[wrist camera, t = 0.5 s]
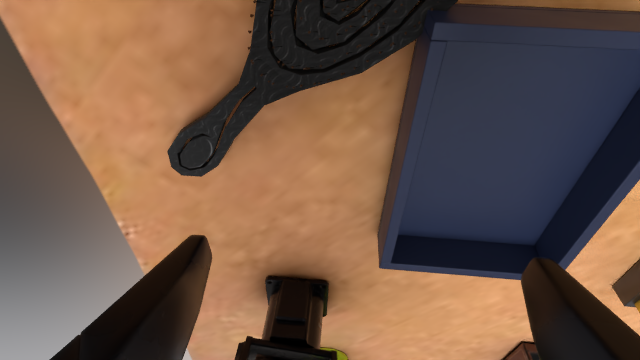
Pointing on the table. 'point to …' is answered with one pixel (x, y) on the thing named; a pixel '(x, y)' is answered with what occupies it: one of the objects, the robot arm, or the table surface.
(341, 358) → the soap dispenser
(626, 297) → the duster
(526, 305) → the robot arm
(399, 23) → the hairbrush
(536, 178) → the blue tray
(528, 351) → the letter holder
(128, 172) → the table surface
